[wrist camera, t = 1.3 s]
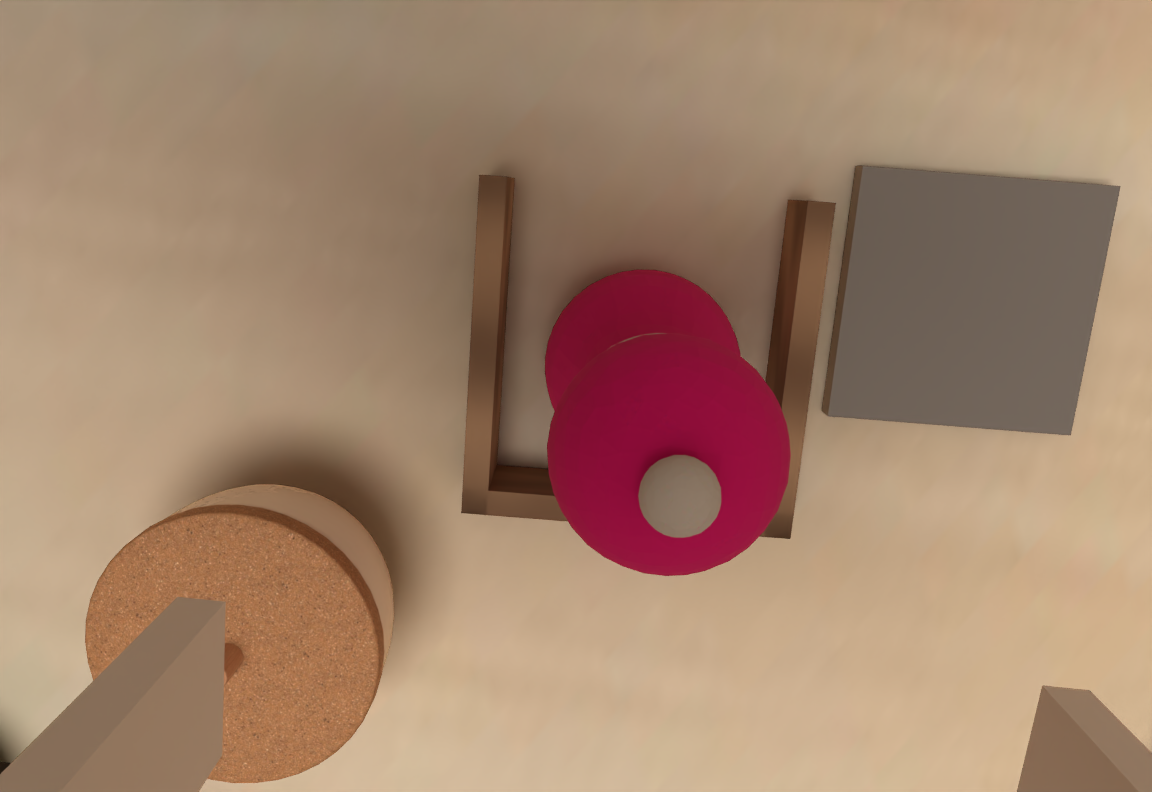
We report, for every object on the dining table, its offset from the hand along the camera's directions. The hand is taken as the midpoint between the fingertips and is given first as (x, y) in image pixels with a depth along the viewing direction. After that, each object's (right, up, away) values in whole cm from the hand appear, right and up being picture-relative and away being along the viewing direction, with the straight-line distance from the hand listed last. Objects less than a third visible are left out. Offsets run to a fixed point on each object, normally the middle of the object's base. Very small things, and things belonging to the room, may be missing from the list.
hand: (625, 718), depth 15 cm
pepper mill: (+2, +7, +24) cm, 25 cm away
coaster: (+15, +9, +23) cm, 29 cm away
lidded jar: (-13, -2, +26) cm, 29 cm away
